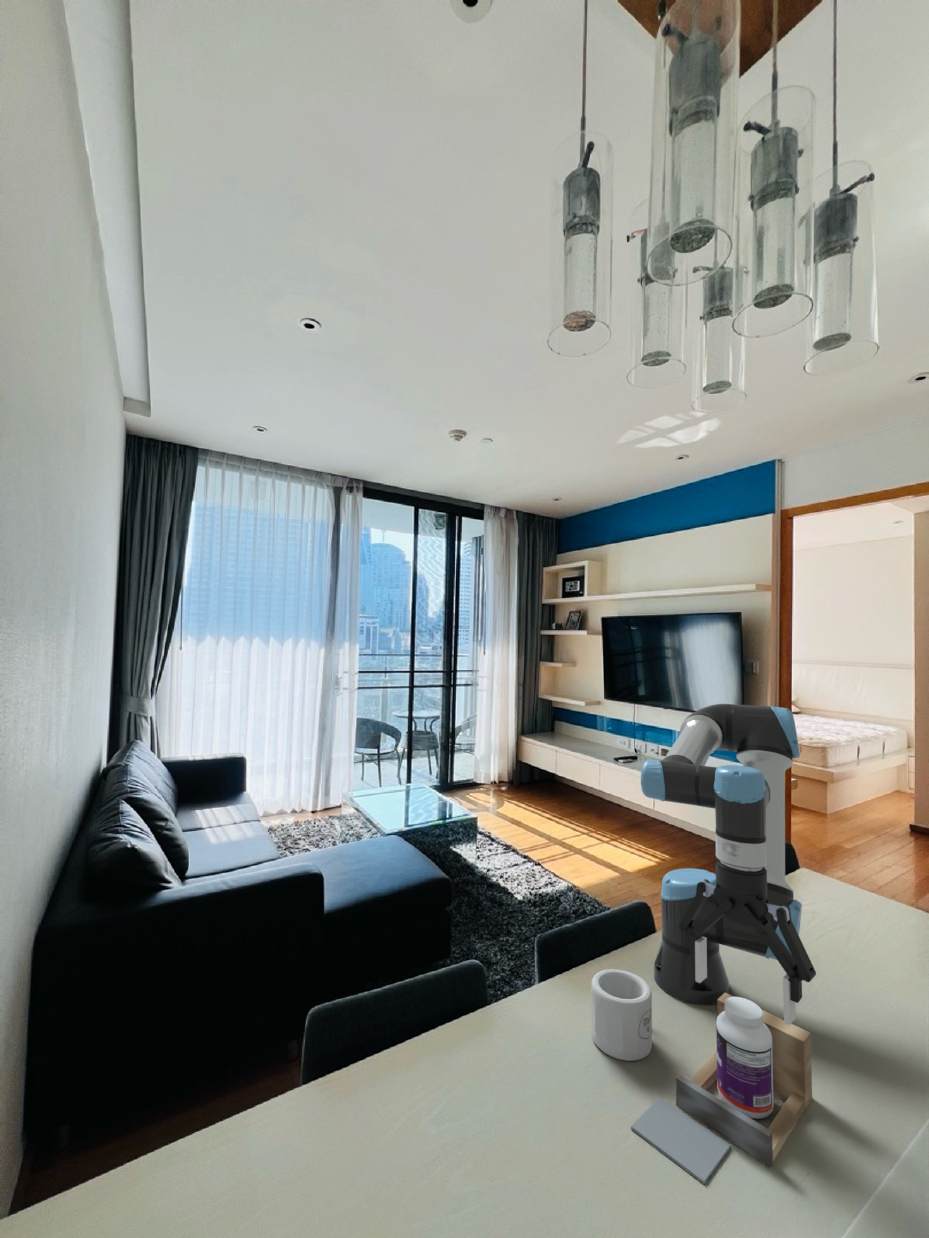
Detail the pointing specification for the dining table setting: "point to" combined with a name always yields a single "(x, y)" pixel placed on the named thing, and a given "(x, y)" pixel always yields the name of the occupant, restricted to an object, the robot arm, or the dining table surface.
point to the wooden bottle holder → (787, 1080)
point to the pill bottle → (745, 1058)
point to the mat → (681, 1139)
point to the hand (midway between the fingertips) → (742, 998)
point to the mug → (621, 1014)
